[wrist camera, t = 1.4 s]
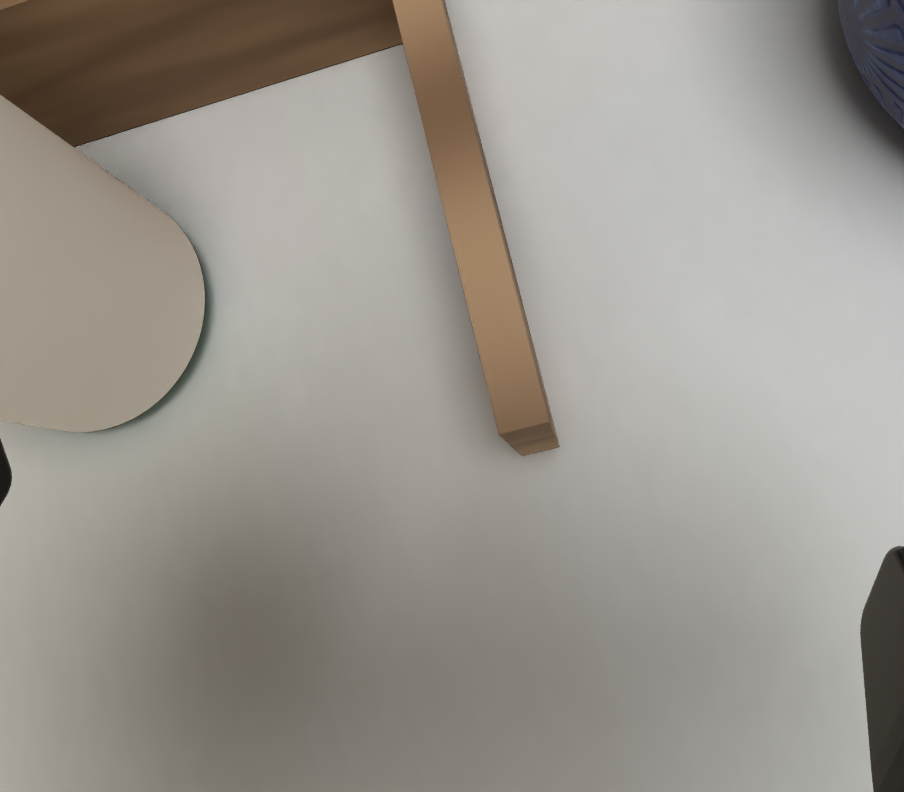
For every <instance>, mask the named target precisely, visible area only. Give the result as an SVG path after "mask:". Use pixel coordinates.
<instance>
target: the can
mask: <svg viewBox="0 0 904 792" xmlns="http://www.w3.org/2000/svg"><path fill="white" fill-rule="evenodd" d="M204 309H205V289H204V281H203V275H202V271H201V267H200V264H199V261H198V258H197V255H196V253H195V251H194V249H193V247H192V245H191V243H190V241H189V240H188V238H187V236H186V235H185V234H184V232H183V231H182V230H181V228H180V227H179V226H178V225H177V224H176V223H175V222H174V221H173V220H172V219H171V218H170V217H169V216H168V215H167V214H165V213H164V212H163V211H162V210H160V209H159V208H157V207H156V206H155V205H153V204H152V203H150V202H149V201H148V200H146V199H145V198H143V197H142V196H141V195H139V194H138V193H137V192H135V191H134V190H132V189H131V188H130V187H128V186H127V185H125V184H124V183H123V182H121V181H120V180H118V179H117V178H116V177H114V176H113V175H111V174H110V173H109V172H107V171H106V170H104V169H103V168H102V167H100V166H99V165H98V164H96V163H95V162H93V161H92V160H91V159H89V158H88V157H86V156H85V155H84V154H82V153H81V152H79V151H78V150H77V149H75V148H74V147H72V146H71V145H70V144H68V143H67V142H66V141H64V140H63V139H61V138H60V137H59V136H57V135H56V134H54V133H53V132H52V131H50V130H49V129H47V128H46V127H45V126H43V125H42V124H40V123H39V122H38V121H36V120H35V119H33V118H32V117H31V116H29V115H28V114H27V113H25V112H24V111H22V110H21V109H20V108H18V107H17V106H15V105H14V104H13V103H11V102H10V101H8V100H7V99H6V98H4V97H3V96H1V95H0V421H6V422H12V423H18V424H24V425H31V426H37V427H43V428H49V429H55V430H61V431H70V432H90V431H98V430H103V429H107V428H111V427H114V426H117V425H120V424H122V423H124V422H127V421H129V420H131V419H133V418H135V417H137V416H138V415H140V414H142V413H143V412H145V411H146V410H148V409H149V408H151V407H152V406H153V405H154V404H155V403H157V402H158V401H159V400H160V399H161V398H162V397H163V396H164V395H165V394H166V393H167V392H168V391H169V390H170V389H171V388H172V386H173V385H174V384H175V383H176V382H177V380H178V379H179V377H180V376H181V375H182V373H183V372H184V370H185V368H186V367H187V365H188V363H189V361H190V359H191V357H192V355H193V353H194V351H195V348H196V345H197V342H198V340H199V337H200V333H201V329H202V324H203V318H204Z"/></svg>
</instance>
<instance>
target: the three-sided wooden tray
mask: <svg viewBox="0 0 904 792" xmlns="http://www.w3.org/2000/svg"><path fill="white" fill-rule="evenodd" d="M401 43H403V45H404V49H405V53H406V57H407V61H408V65H409V70H410V74H411V78H412V82H413V86H414V90H415V94H416V98H417V102H418V106H419V110H420V114H421V119H422V123H423V127H424V131H425V135H426V139H427V143H428V147H429V151H430V155H431V159H432V163H433V168H434V172H435V176H436V180H437V184H438V188H439V192H440V196H441V200H442V204H443V208H444V212H445V217H446V221H447V225H448V229H449V233H450V237H451V241H452V245H453V249H454V253H455V257H456V261H457V266H458V270H459V274H460V278H461V282H462V286H463V290H464V294H465V298H466V302H467V306H468V310H469V315H470V319H471V323H472V327H473V331H474V335H475V339H476V343H477V347H478V351H479V355H480V359H481V364H482V368H483V372H484V376H485V380H486V384H487V388H488V392H489V396H490V400H491V404H492V408H493V413H494V417H495V421H496V425H497V429H498V433H499V435H500V436H501V437H502V438H503V439H504V440H506V441H507V442H508V443H509V444H510V445H511V446H512V447H513V448H514V449H515V450H516V451H517V452H519V453H520V454H521V455H522V456H525V455H529V454H533V453H537V452H541V451H545V450H549V449H553V448H557V447H559V444H558V440H557V436H556V432H555V428H554V424H553V420H552V416H551V412H550V409H549V405H548V401H547V397H546V393H545V389H544V385H543V381H542V377H541V374H540V370H539V366H538V362H537V358H536V354H535V350H534V346H533V343H532V339H531V335H530V331H529V327H528V323H527V319H526V315H525V311H524V308H523V304H522V300H521V296H520V292H519V288H518V284H517V280H516V276H515V273H514V269H513V265H512V261H511V257H510V253H509V249H508V245H507V241H506V238H505V234H504V230H503V226H502V222H501V218H500V214H499V210H498V206H497V203H496V199H495V195H494V191H493V187H492V183H491V179H490V175H489V171H488V168H487V164H486V160H485V156H484V152H483V148H482V144H481V140H480V136H479V133H478V129H477V125H476V121H475V117H474V113H473V109H472V105H471V102H470V98H469V94H468V90H467V86H466V82H465V78H464V74H463V70H462V67H461V63H460V59H459V55H458V51H457V47H456V43H455V39H454V35H453V32H452V28H451V24H450V20H449V16H448V12H447V8H446V4H445V0H0V95H1V96H3V97H4V98H6V99H7V100H8V101H10V102H11V103H13V104H14V105H15V106H17V107H18V108H20V109H21V110H22V111H24V112H25V113H27V114H28V115H29V116H31V117H32V118H33V119H35V120H36V121H38V122H39V123H40V124H42V125H43V126H45V127H46V128H47V129H49V130H50V131H52V132H53V133H54V134H56V135H57V136H59V137H60V138H61V139H63V140H64V141H66V142H67V143H68V144H70V145H71V146H72V147H74V146H77V145H80V144H84V143H87V142H90V141H93V140H96V139H99V138H103V137H106V136H109V135H112V134H115V133H119V132H122V131H125V130H128V129H131V128H134V127H138V126H141V125H144V124H147V123H150V122H153V121H157V120H160V119H163V118H166V117H169V116H173V115H176V114H179V113H182V112H185V111H188V110H192V109H195V108H198V107H201V106H204V105H208V104H211V103H214V102H217V101H220V100H223V99H227V98H230V97H233V96H236V95H239V94H243V93H246V92H249V91H252V90H255V89H258V88H262V87H265V86H268V85H271V84H274V83H277V82H281V81H284V80H287V79H290V78H293V77H297V76H300V75H303V74H306V73H309V72H312V71H316V70H319V69H322V68H325V67H328V66H332V65H335V64H338V63H341V62H344V61H347V60H351V59H354V58H357V57H360V56H363V55H367V54H370V53H373V52H376V51H379V50H382V49H386V48H389V47H392V46H395V45H398V44H401Z"/></svg>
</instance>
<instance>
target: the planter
mask: <svg viewBox="0 0 904 792" xmlns="http://www.w3.org/2000/svg"><path fill="white" fill-rule="evenodd" d="M837 4H838V10H839V16H840V22H841V25H842V29H843V32H844V36H845V39H846V43H847V46H848V48H849V51H850V53H851V56H852V58H853V60H854V63H855V65H856V67H857V69H858V71H859V73H860V75H861V76H862V78H863V80H864V82H865V84H866V85H867V87H868V88H869V90H870V91H871V92H872V94H873V95H874V97H875V98H876V99H877V101H878V102H879V104H880V105H881V106H882V107H883V108H884V109H885V110H886V111H887V112H888V114H889V115H890V116H891V117H892V118H893V119H894V120H895V121H896V122H897V123H898V124H899V125H900V126H902V127H903V128H904V0H837Z"/></svg>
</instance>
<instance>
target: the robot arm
mask: <svg viewBox="0 0 904 792" xmlns="http://www.w3.org/2000/svg"><path fill="white" fill-rule="evenodd" d="M11 481H12V471H11V467H10V464H9V462H8V459H7V456H6V453H5V450H4V448H3V445H2V442H1V439H0V506H1V504H2V502H3V501H4V499H5V497H6V496H7V494H8V492H9V489H10V486H11ZM860 635H861V649H862V661H863V673H864V686H865V698H866V710H867V723H868V735H869V747H870V759H871V771H872V781H873V790H874V792H904V546H897V547H894V548H892V549H890V551H889V552H888V553H887V554H886V556H885V558H884V560H883V562H882V565H881V567H880V570H879V572H878V575H877V577H876V580H875V582H874V585H873V587H872V590H871V592H870V595H869V597H868V600H867V602H866V605H865V607H864V610H863V614H862V619H861V630H860Z"/></svg>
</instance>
